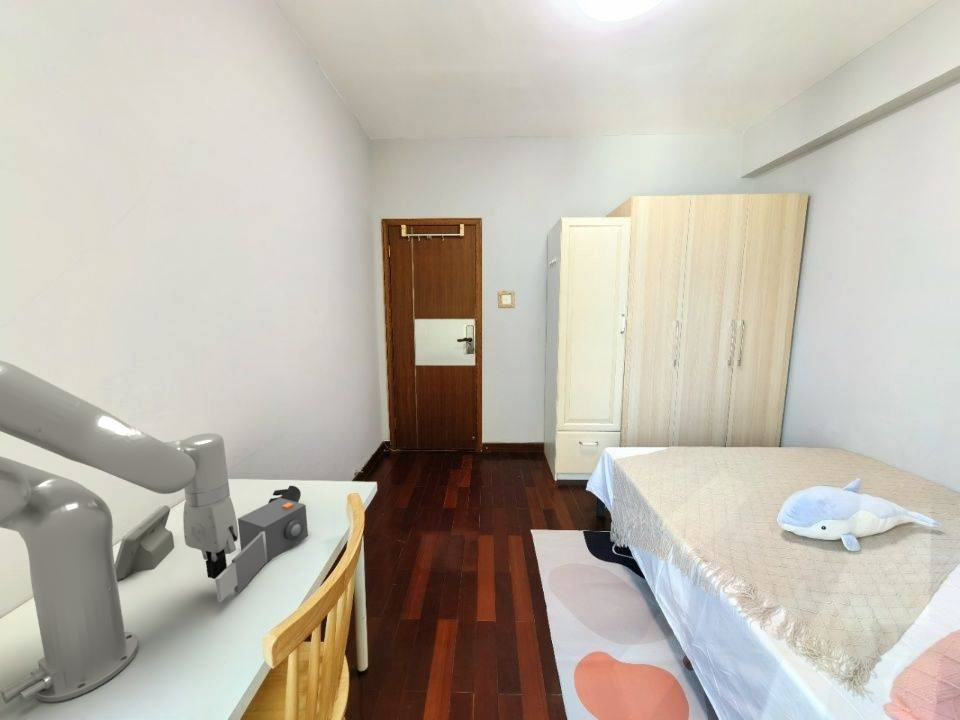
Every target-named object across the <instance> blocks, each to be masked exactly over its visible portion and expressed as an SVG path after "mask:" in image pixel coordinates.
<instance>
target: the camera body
mask: <svg viewBox="0 0 960 720" xmlns="http://www.w3.org/2000/svg"><path fill="white" fill-rule="evenodd" d="M277 498H278V497H277ZM237 526H238V536H239V544H240V552H241V551H242V550H243V549H244V548H245V547H246V546H247V545H248V544H249V543H250V542H251V541H252V540H253V539H254V538H256V537H257V536H258V535H259V533H260V532H262V531H265V538H266V549H267V560H268V561H267V562H266V563H268V562H270V561H271V560H273V559H274V558H276V557H278V556H279V555H281V554H282V553H284V552H285V551H287V550H288V549H290V548H292V547H293V546H295V545H296V544H298V543H300V542H301V541H303V540H304V539H306V538H307V537H308V536H309V531H308V519H307V507H306V504H305V503H301V502H298V503H297V502H294V501H290V500H286V499H283V498H278V499H276V500H274V501H272V502H270V503H268V502H267V504H265V505H263V506H260V507H258V508H256V509H254V510H252V511H251V512H248V513H246V514H244V515H242V516H241V517H237Z"/></svg>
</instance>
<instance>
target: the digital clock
mask: <svg viewBox="0 0 960 720" xmlns="http://www.w3.org/2000/svg"><path fill="white" fill-rule="evenodd" d="M170 513H171V508H170V506H168V505H162V506H159V507H158V508H157V509H155V510H154V511H152V513H151V514H149V515H148V516H147V517H146V518H144V519H143V520H142V521H141V522H139V523H138V524H137V525H136V526H135V527H133V528H132V529H131V530H130V531H129V532H127V533H126V534H125V535H124V536H123V537H122V539H121V542H120V546H119V549H118V552H117V555H116V559H115V561H114V563H115V570H116V577H117V581H120V580H123V579H124V578H126V577H127V576H128V575H129V574H130V573H133V572H143V571H149V570H151V571H152V570H154V569H155V568H156V567H157V566H158V565H159V564H160V563H161V562H162V561H163V560H164V559H165V558H166V557H167V555H169V554H170V552H171V551H172V550H173V549H174V548H175V542H174V535H173V532H172V531H171V530H168V529H167V528H166V527H167V526H166V525H167V521H168V519H169V516H170Z"/></svg>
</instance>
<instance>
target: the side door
mask: <svg viewBox="0 0 960 720" xmlns="http://www.w3.org/2000/svg"><path fill="white" fill-rule="evenodd" d="M267 561H268V560H267V549H266V538H265V531H262V532H260V533H259V535H258V536H257V537H256V538H254V539H253V540H252V541H251V542H250V543H249V544H248V545H247V546H246V547H245V548H244V549H243V550H242V551H241V550H240V552H238V554H236V556H235V557H233V559H231V563H229V565H227V568H226V569H225V570H224V571H223V572H222V573H221V574H220V575H219V576H218V577H216V578H215V579H214V580H215V588H216V598H217V602H219V603H220V602H223V601H224V600H225V598H227V597H228V595H229V594H230V593H231V592H232V591H234V594H236V593H237V594H238V593H241V591H242V590H243V588H244V587H245V586H246V585H248V583H249V582H250V581H251V579H252V578H254V577H255V575H256V574H257V573H258V572H259V571H260V569H261V568H262V567H264V565H265V564H266V563H268V562H269V561H268V562H267Z"/></svg>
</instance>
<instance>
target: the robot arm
mask: <svg viewBox="0 0 960 720" xmlns="http://www.w3.org/2000/svg"><path fill="white" fill-rule="evenodd" d="M0 432H1V433H3V434H7V435H9V436H12V437H14V438H16V439H19V440H21V441H24V442H27V443H29V444H32V445H33V446H36V447H39V448H41V449H43V450H46V451H48V452H51V453H54V454H56V455H58V456H61V457H63V458H65V459H67V460H69V461H73V462H76V463H79V464H82V465H86V466H88V467H91V468H94V469H97V470H98V471H99V470H100V471H102V472H104V473H106V474H108V475H111V476H114V477H116V478H119V479H121V480H123V481H126V482H128V483H131V484H133V485H135V486H138V487H141V488H143V489H146V490H149V491H151V492H152V493H156V494H160V495H169V494H171V495H172V494H175V493H178V492H180V491H182V490H184V495H185V496H184V497H185V502H184V506H183V515H182V516H183V518H182V519H183V535H184V537H183V538H184V543H185V545H186V546H187V547H189V548H191V549H196V550H200V551H201V554H202V558H203V560H205V563H206V564H205V565H206V573H207V578H209V579H212V580H215V578H216V577H218V576H219V575H220V574H221V573H222V572H223V571H224V570H225V569H226V568H227V567H228V564H227V555H230V554H232V553H234V552H235V551H236V550H237V547H236V544H235V542H237V541H238V539H239V526H238V520H237V517H236V512H235V507H234V504H233V502H232V498H231V497H230V496H231V494H230V493H231V492H230V486H229V485H230V484H229V475H228V467H227V459H226V458H227V457H226V449H225V441H224V438H223V436H222V435H220V434H218V433H211V432H210V433H209V432H208V433H201V434H196V435H192V436H190V437H187V438H184V439H180V440H173V441H165V442H164V441H162V440H159V439H158V438H156V437H153V436H152V435H149V434H148V433H146V432H143V431H141V430H140V429H137V428H135V427H134V426H132V425H130V424H129V423H127V422H124V421H123V420H121V419H120V418H119V417H117V416H115V415H113V414H111V413H110V412H108V411H106V410H104V409H103V408H100V407H99V406H97V405H95V404H92V403H90V402H88V401H86V400H84V399H83V398H80V397H78V396H76V395H74V394H72V393H70V392H68V391H66V390H64V389H62V388H60V387H58V386H56V385H55V384H53V383H50V382H49V381H46V380H44V379H43V378H42V377H41V378H40V377H39V376H37V375H35V374H33V373H30V372H28V371H27V370H24V369H22V368H20V367H19V366H17V365H15V364H13V363H12V364H11V362H10V363H9V362H7V361H2V360H0ZM113 523H114V522H113V516H112V512H111V509H110V507H109V506H108V504H107V503H106V502H105V500H104V499H103V498H102V497H100V496H99V495H98V494H97V493H96V492H94V491H92V490H90V489H88V488H87V487H85V486H84V485H83V484H81V483H79V482H78V481H74V480H72V479H69V478H67V477H64V476H60V475H58V474H54V473H52V472H49V471H45V470H43V469H39V468H37V467H34V466H31V465H29V464H28V465H27V464H26V463H22V462H19V461H16V460H13V459H11V458H6V457H5V456H4V457H3V456H0V528H2V529H7V530H10V531H14V532H17V533H18V534H19V536H20V537H21V539H22V540H23V541H24V543H25V547H26V550H27V554H28V562H29V575H30V576H29V577H30V582H31V590H32V597H33V601H34V605H35V611H36V616H37V622H38V627H39V631H40V634H39V635H40V639H41V644H42V651H43V656H44V657H42V658H41V659H39V660H37V664H38V665H37V666H38V668H36V669H35V670H33V671H31V672H30V675H28V676H26V677H24V678H23V679H20V680H19V681H17V682H15V683H13V684H12V685H10V686H8V687H6V688H5V689H3V690H2V691H0V695H1V698H2V700H3V702H4V704H7V703H9V702H10V701H12V700H14V699H15V698H17V697H19V696H20V698H21V701H22V702H25V701H26V700H28V699H30V698H32V697H33V696H36V698H37V699H38V700H40V701H42V702H45V703H48V702H49V703H51V702H52V703H55V702H56V703H57V702H62V701H66V700H70V699H73V697H74V698H75V697H79V696H82V695H83V694H86V693H88V692H90V691H92V690H95V689H96V688H97V687H100V686H101V685H103V684H104V683H106V682H109V680H111V679H113V677H115V676H116V675H117V674H119V673H121V671H123V669H124V668H126V666H128V664H130V662H131V661H132V660H133V659H134V657H135V656H136V654H137V652H138V649H139V640H138V637H137V635H136V634H135V633H133V632H128V631H125V626H124V619H123V613H122V606H121V598H120V591H119V584H118V580H117V577H116V570H115V558H114V547H113V529H114V524H113Z"/></svg>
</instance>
